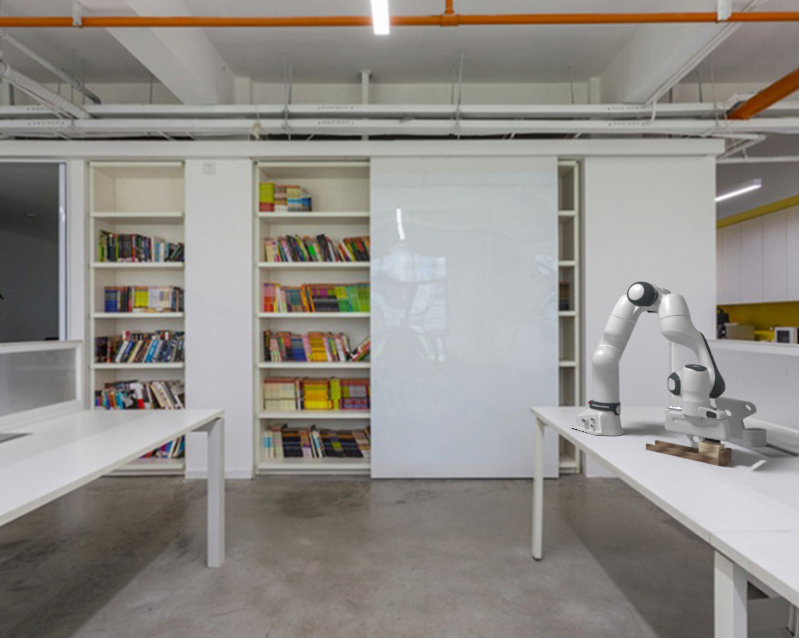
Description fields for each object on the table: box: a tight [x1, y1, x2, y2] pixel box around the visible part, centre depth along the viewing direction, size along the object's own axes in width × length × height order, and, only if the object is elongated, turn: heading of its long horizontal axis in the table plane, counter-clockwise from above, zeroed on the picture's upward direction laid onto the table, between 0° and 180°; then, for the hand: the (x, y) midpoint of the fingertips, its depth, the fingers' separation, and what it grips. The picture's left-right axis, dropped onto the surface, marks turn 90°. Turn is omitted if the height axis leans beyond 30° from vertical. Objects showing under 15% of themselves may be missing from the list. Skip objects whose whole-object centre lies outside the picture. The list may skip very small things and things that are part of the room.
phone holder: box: [714, 396, 769, 448], centre depth 190 cm, size 17×10×18 cm, turn 16°
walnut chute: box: [645, 439, 733, 467], centre depth 165 cm, size 25×9×6 cm, turn 37°
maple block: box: [699, 441, 726, 458], centre depth 159 cm, size 6×6×6 cm
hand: (696, 447), depth 163 cm, fingers closed
